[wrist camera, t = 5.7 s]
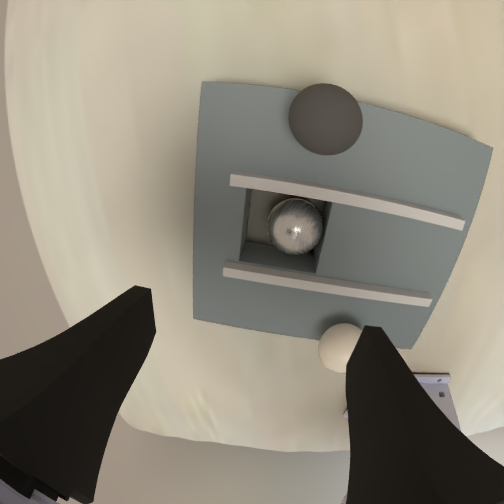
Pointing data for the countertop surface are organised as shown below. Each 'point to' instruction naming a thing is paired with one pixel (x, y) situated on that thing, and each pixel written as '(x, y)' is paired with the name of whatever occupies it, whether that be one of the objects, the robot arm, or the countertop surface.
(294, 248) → the steel ball
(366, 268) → the grey board with rails
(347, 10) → the countertop surface
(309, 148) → the dark gray ball
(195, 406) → the countertop surface
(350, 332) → the cream ball
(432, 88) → the countertop surface
